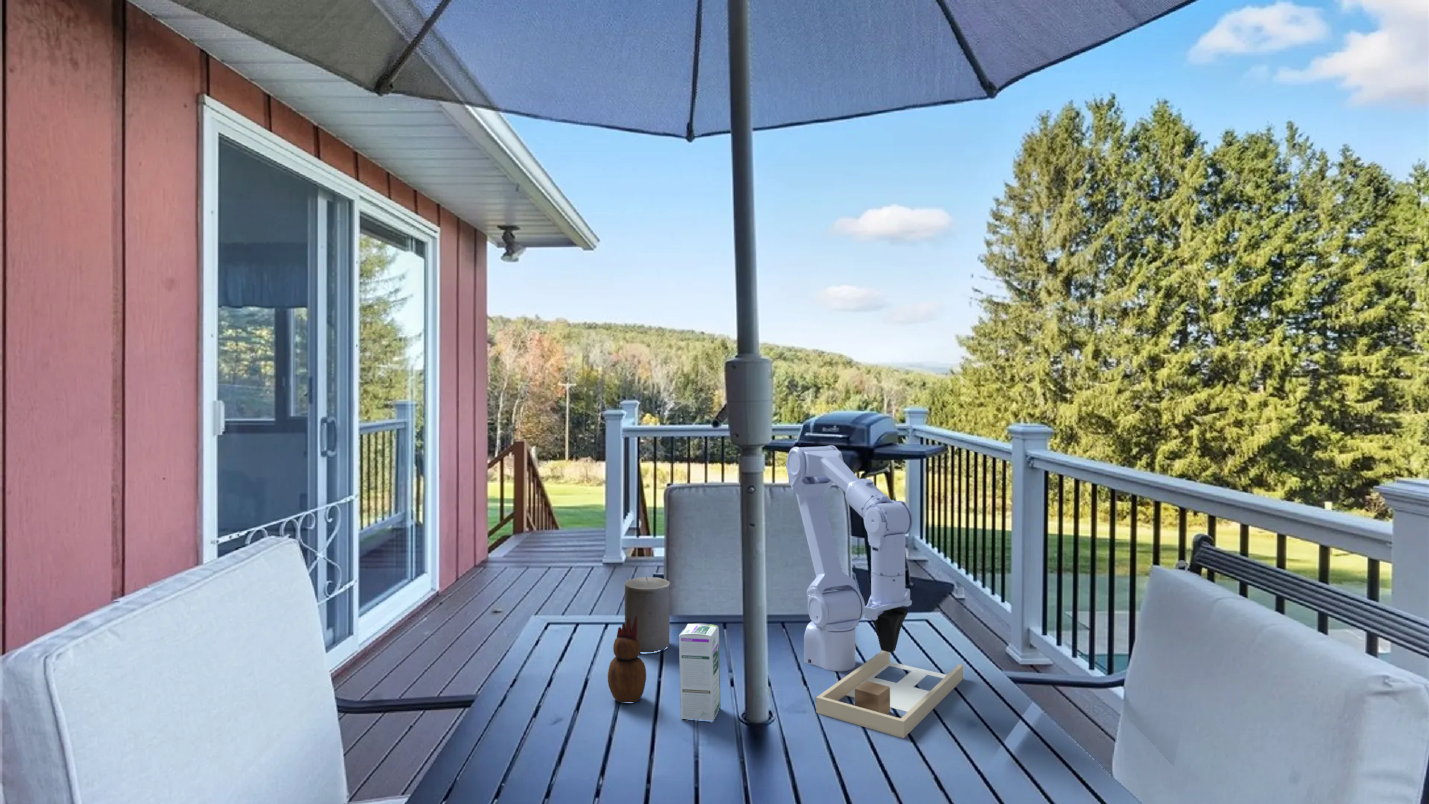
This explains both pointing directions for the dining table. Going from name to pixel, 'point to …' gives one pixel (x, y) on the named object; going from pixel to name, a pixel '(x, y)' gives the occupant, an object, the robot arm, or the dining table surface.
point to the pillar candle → (649, 611)
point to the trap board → (900, 696)
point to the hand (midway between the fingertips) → (888, 650)
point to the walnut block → (873, 697)
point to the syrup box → (699, 671)
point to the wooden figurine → (627, 665)
